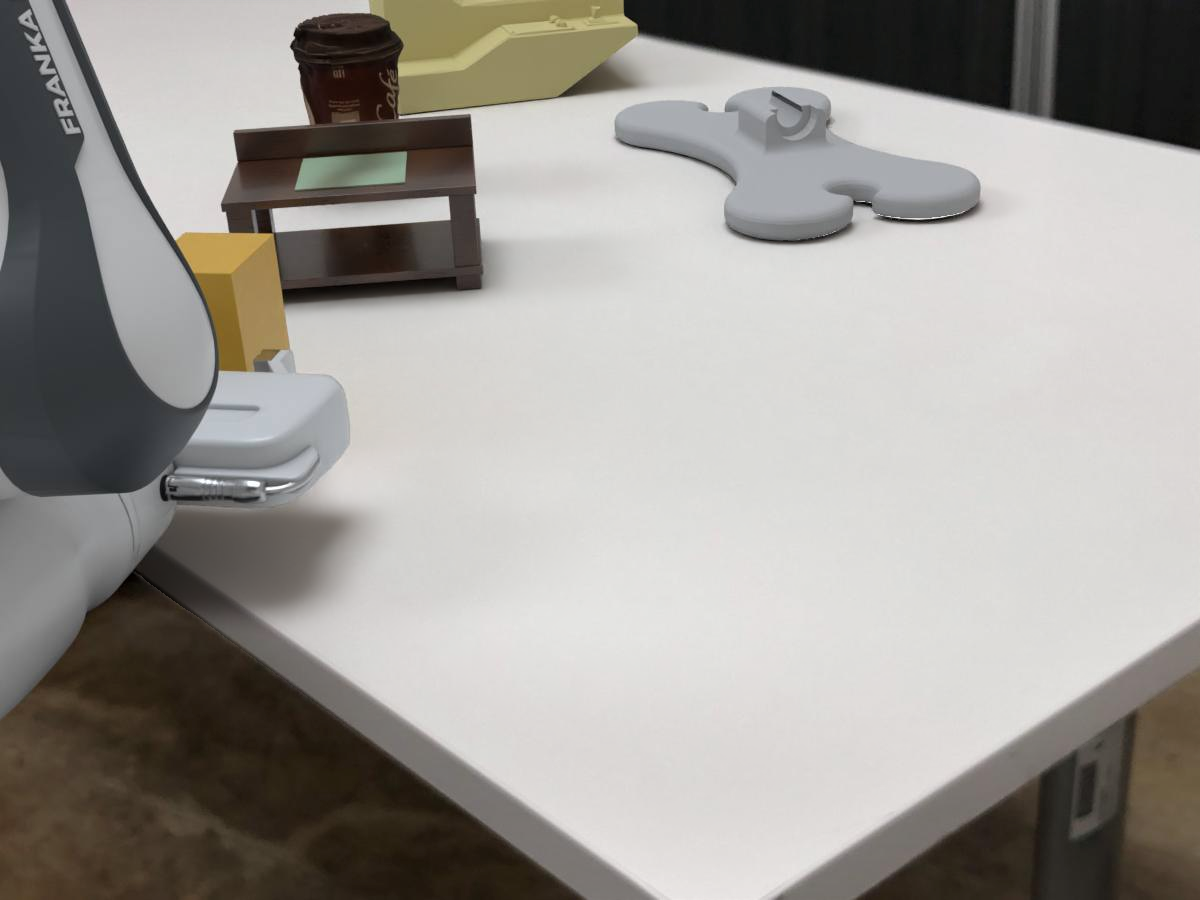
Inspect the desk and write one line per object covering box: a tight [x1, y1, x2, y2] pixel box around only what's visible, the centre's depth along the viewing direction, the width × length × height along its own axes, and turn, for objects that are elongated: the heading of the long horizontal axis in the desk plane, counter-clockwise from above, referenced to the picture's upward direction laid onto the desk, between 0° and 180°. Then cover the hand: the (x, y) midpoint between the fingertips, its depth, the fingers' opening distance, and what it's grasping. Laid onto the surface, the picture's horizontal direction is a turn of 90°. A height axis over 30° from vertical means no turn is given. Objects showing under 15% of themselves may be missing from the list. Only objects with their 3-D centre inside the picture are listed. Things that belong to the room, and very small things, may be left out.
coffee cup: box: [289, 12, 404, 125], centre depth 120 cm, size 9×8×13 cm
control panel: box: [368, 0, 639, 115], centre depth 151 cm, size 24×16×20 cm
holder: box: [614, 86, 981, 241], centre depth 122 cm, size 19×34×5 cm, turn 18°
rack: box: [220, 113, 484, 291], centre depth 104 cm, size 16×10×9 cm, turn 95°
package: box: [174, 231, 291, 372], centre depth 83 cm, size 5×6×10 cm
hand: (193, 359), depth 80 cm, fingers open, 8 cm apart
